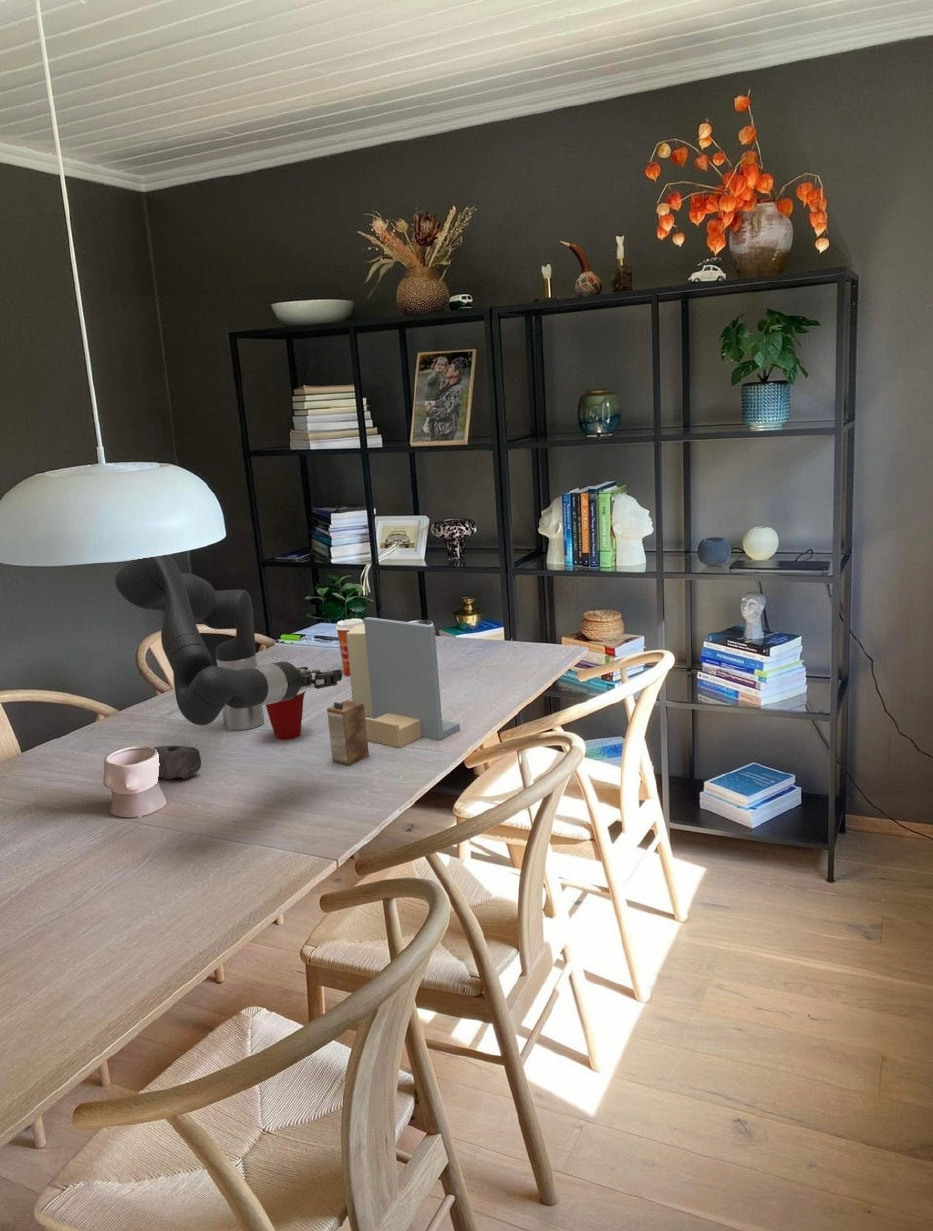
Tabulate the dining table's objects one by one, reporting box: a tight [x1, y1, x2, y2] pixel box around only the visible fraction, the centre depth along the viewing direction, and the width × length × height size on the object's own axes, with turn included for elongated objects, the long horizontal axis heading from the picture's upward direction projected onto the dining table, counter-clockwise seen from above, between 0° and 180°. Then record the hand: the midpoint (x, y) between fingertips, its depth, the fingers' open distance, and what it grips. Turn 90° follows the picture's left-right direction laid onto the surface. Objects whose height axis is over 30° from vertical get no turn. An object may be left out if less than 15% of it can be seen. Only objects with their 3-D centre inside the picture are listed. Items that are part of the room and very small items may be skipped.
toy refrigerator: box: [346, 625, 373, 717], centre depth 229 cm, size 8×7×21 cm
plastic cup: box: [265, 688, 308, 741], centre depth 217 cm, size 11×11×12 cm
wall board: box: [363, 616, 461, 749], centre depth 211 cm, size 15×20×26 cm
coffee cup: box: [335, 618, 364, 677], centre depth 263 cm, size 8×8×15 cm
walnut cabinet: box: [326, 699, 370, 767], centre depth 199 cm, size 6×5×13 cm
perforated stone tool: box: [153, 745, 202, 780], centre depth 198 cm, size 15×5×7 cm, turn 72°
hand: (323, 673), depth 191 cm, fingers open, 8 cm apart
